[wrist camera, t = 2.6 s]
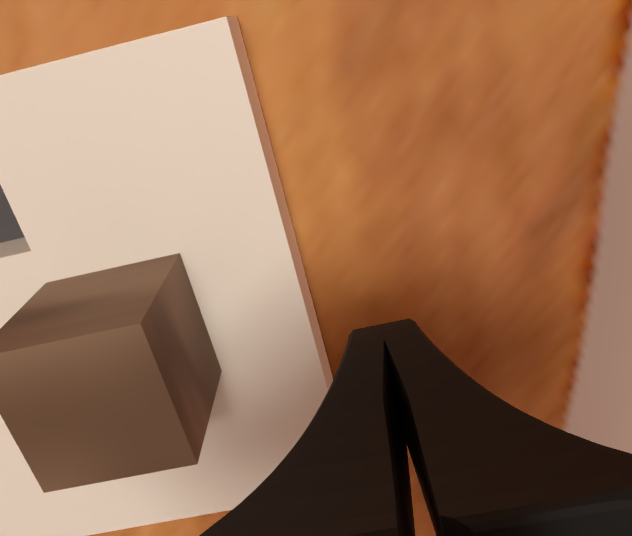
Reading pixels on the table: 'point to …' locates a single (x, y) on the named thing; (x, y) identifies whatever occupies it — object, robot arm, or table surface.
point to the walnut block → (109, 375)
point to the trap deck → (161, 253)
